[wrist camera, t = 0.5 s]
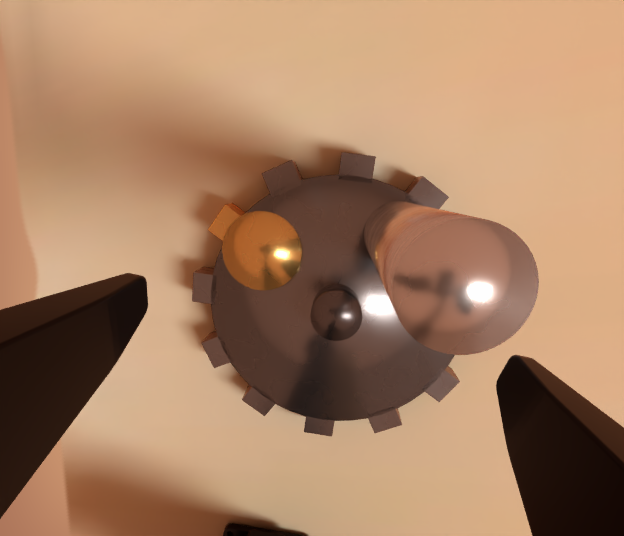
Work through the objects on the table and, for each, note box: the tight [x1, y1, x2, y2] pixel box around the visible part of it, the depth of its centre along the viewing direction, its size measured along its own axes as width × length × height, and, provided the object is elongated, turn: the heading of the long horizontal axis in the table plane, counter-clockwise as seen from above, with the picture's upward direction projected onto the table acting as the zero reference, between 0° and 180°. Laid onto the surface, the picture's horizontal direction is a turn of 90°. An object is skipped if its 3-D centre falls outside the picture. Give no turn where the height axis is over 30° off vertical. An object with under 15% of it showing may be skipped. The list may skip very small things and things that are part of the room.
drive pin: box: [364, 201, 539, 355], centre depth 14 cm, size 4×4×11 cm
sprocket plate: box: [192, 152, 460, 436], centre depth 21 cm, size 17×17×3 cm
